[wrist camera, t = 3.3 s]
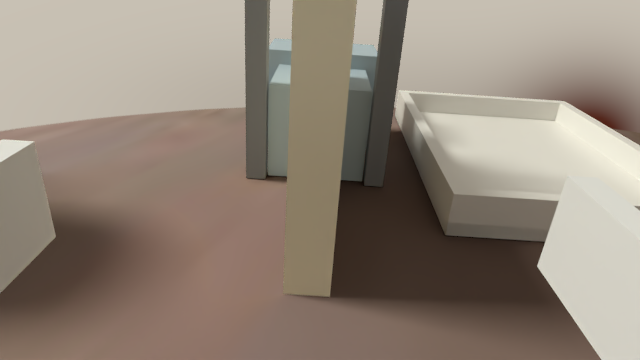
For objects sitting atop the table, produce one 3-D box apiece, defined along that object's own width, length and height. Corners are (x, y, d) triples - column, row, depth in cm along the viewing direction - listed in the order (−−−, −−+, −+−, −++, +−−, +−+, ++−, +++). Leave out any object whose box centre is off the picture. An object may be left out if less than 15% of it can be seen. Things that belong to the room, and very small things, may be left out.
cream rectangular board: (330, 159, 33) (344, -21, 28) (329, 297, 19) (357, -5, 14) (302, 157, 33) (311, -23, 28) (283, 294, 19) (293, -10, 14)
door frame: (369, 127, 40) (390, -60, 33) (382, 186, 29) (418, -70, 23) (268, 120, 39) (271, -68, 33) (246, 177, 29) (244, -82, 23)
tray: (556, 126, 43) (564, 101, 42) (732, 254, 24) (754, 213, 23) (395, 115, 43) (398, 90, 42) (445, 235, 24) (454, 194, 23)
